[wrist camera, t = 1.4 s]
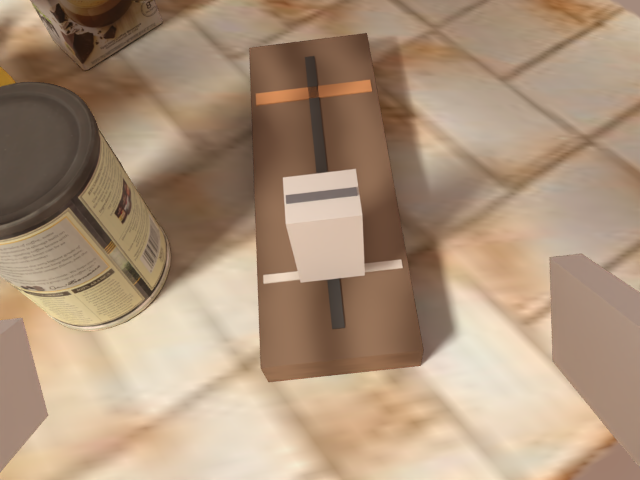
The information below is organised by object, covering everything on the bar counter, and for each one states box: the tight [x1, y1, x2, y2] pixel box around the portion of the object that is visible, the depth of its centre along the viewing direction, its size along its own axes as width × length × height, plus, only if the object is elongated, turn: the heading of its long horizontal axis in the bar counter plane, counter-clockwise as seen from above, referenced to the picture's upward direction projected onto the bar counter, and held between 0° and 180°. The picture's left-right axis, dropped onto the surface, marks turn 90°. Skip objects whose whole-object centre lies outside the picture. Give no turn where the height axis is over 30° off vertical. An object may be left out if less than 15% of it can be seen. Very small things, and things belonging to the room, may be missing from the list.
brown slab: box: [249, 33, 423, 382], centre depth 45 cm, size 10×28×3 cm, turn 5°
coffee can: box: [0, 82, 171, 331], centre depth 39 cm, size 10×10×14 cm
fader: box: [283, 169, 365, 283], centre depth 35 cm, size 4×3×9 cm
